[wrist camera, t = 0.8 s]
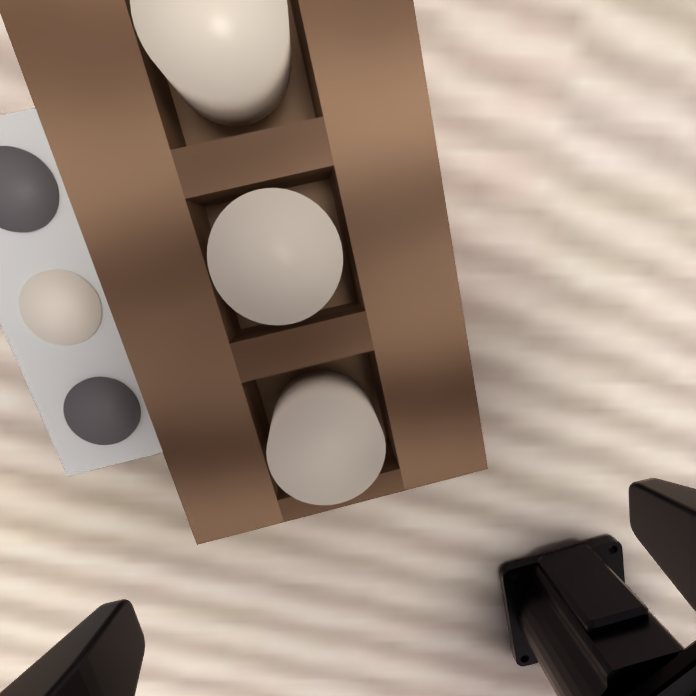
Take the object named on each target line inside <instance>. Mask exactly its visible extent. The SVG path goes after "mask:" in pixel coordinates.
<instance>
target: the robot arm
mask: <svg viewBox="0 0 696 696" xmlns="http://www.w3.org/2000/svg"><path fill="white" fill-rule="evenodd" d="M629 512H630V524H631V528H632V530H633V532H634V534H635V536H636V537H637V538H638V540H639V541H640V542H641V544H642V545H643V546H644V547H645V549H646V550H647V551H648V552H649V554H650V555H651V556H652V557H653V559H654V560H655V561H656V562H657V564H658V565H659V566H660V568H661V569H662V570H663V571H664V573H665V574H666V575H667V576H668V578H669V579H670V580H671V581H672V583H673V584H674V585H675V586H676V588H677V589H678V590H679V591H680V593H681V594H682V595H683V597H684V598H685V599H686V600H687V602H688V603H689V604H690V605H691V607H692V608H693V609H694V610H695V611H696V489H694V488H690V487H686V486H683V485H679V484H675V483H672V482H668V481H664V480H660V479H656V478H650V479H645V480H641V481H637V482H633V483H632V484H631V485H630V487H629ZM511 573H512V574H511ZM509 574H511V575H510V576H509ZM500 580H501V586H502V592H503V598H504V604H505V610H506V616H507V623H508V629H509V635H510V641H511V647H512V653H513V656H514V658H515V660H516V662H517V664H518V665H519V666H527V665H531V664H534V663H538V662H539V664H540V666H541V667H542V669H543V671H544V673H545V674H546V676H547V678H548V680H549V681H550V683H551V685H552V687H553V689H554V690H555V692H556V694H557V696H696V641H694V642H693V643H692V644H690V645H689V646H688V647H686V648H684V647H683V646H682V645H681V644H680V643H679V642H678V641H677V640H676V639H675V638H674V637H673V636H672V634H671V633H670V632H669V631H668V630H667V629H666V628H665V627H664V626H663V625H662V624H661V623H660V622H659V621H658V620H657V619H656V618H655V617H654V616H653V614H652V613H651V612H650V611H649V610H648V608H647V606H646V605H645V604H644V603H643V602H642V601H641V600H640V599H639V598H638V597H637V596H636V595H635V594H634V593H633V592H632V590H631V589H630V588H629V587H628V586H627V585H626V584H625V579H624V566H623V552H622V545H621V544H620V543H619V542H618V541H617V540H616V539H615V538H614V537H611V536H609V537H604V538H600V539H597V540H593V541H589V542H586V543H582V544H578V545H575V546H571V547H567V548H564V549H560V550H556V551H553V552H549V553H545V554H542V555H538V556H534V557H530V558H527V559H523V560H519V561H516V562H512V563H508V564H506V565H504V566H503V567H502V568H501V570H500ZM144 651H145V640H144V635H143V632H142V629H141V627H140V624H139V621H138V619H137V616H136V613H135V611H134V608H133V606H132V604H131V602H130V601H128V600H125V599H123V600H118V601H114V602H110V603H106V604H103V605H101V606H100V607H98V608H97V609H96V610H95V611H94V612H93V613H92V614H90V615H89V616H88V617H87V618H86V619H85V620H83V621H82V622H81V623H80V624H79V625H78V626H77V627H75V628H74V629H73V630H72V631H71V632H70V633H69V634H67V635H66V636H65V637H64V638H63V639H62V640H60V641H59V642H58V643H57V644H56V645H55V646H54V647H52V648H51V649H50V650H49V651H48V652H47V653H45V654H44V655H43V656H42V657H41V658H40V659H39V660H37V661H36V662H35V663H34V664H33V665H32V666H31V667H29V668H28V669H27V670H26V671H25V672H24V673H22V674H21V675H20V676H19V677H18V678H17V679H16V680H14V681H13V682H12V683H11V684H10V685H9V686H8V687H6V688H5V689H4V690H3V691H2V692H1V693H0V696H135V692H136V688H137V683H138V679H139V674H140V670H141V665H142V661H143V656H144Z"/></svg>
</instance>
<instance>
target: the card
mask: <svg viewBox="0 0 696 696" xmlns="http://www.w3.org/2000/svg"><path fill="white" fill-rule="evenodd" d="M0 324H1V327H2V329H3V331H4V333H5V336H6V338H7V340H8V343H9V345H10V347H11V349H12V352H13V354H14V356H15V358H16V361H17V363H18V365H19V368H20V370H21V372H22V374H23V377H24V379H25V381H26V383H27V386H28V388H29V390H30V393H31V395H32V397H33V399H34V402H35V404H36V406H37V408H38V411H39V413H40V415H41V418H42V420H43V422H44V424H45V427H46V429H47V431H48V433H49V436H50V438H51V440H52V443H53V445H54V447H55V449H56V452H57V454H58V456H59V459H60V461H61V463H62V465H63V468H64V470H65V472H66V474H67V476H71V475H75V474H79V473H83V472H87V471H91V470H95V469H99V468H103V467H107V466H111V465H115V464H119V463H123V462H127V461H131V460H135V459H139V458H143V457H147V456H151V455H155V454H159V453H163V451H162V448H161V446H160V443H159V440H158V438H157V435H156V432H155V429H154V427H153V424H152V421H151V419H150V416H149V413H148V411H147V408H146V405H145V402H144V400H143V397H142V394H141V392H140V389H139V386H138V384H137V381H136V378H135V375H134V373H133V370H132V367H131V365H130V362H129V359H128V357H127V354H126V351H125V348H124V346H123V343H122V340H121V338H120V335H119V332H118V330H117V327H116V324H115V321H114V319H113V316H112V313H111V311H110V308H109V305H108V303H107V300H106V297H105V294H104V292H103V289H102V286H101V284H100V281H99V278H98V275H97V273H96V270H95V267H94V265H93V262H92V259H91V257H90V254H89V251H88V248H87V246H86V243H85V240H84V238H83V235H82V232H81V230H80V227H79V224H78V221H77V219H76V216H75V213H74V211H73V208H72V205H71V203H70V200H69V197H68V194H67V192H66V189H65V186H64V184H63V181H62V178H61V176H60V173H59V170H58V167H57V165H56V162H55V159H54V157H53V154H52V151H51V149H50V146H49V143H48V140H47V138H46V135H45V132H44V130H43V127H42V124H41V122H40V119H39V116H38V113H37V111H36V108H33V109H29V110H24V111H19V112H15V113H10V114H5V115H1V116H0Z"/></svg>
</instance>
